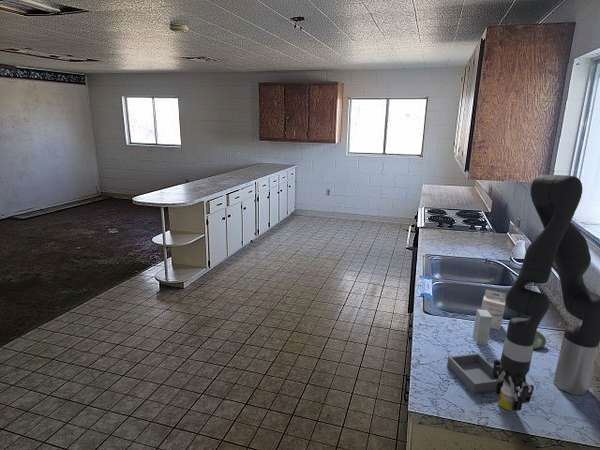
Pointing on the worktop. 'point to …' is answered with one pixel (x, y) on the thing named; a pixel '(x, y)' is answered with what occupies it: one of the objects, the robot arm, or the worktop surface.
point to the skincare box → (482, 327)
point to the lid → (539, 340)
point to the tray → (473, 372)
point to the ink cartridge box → (494, 307)
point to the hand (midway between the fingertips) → (507, 401)
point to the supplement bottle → (506, 398)
